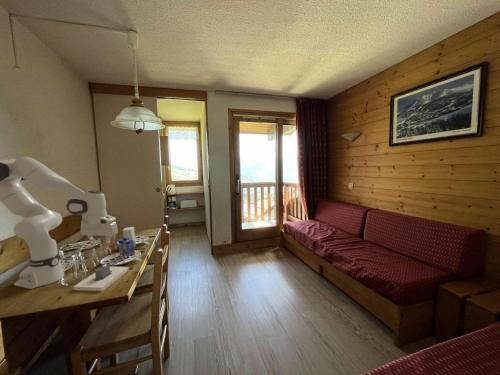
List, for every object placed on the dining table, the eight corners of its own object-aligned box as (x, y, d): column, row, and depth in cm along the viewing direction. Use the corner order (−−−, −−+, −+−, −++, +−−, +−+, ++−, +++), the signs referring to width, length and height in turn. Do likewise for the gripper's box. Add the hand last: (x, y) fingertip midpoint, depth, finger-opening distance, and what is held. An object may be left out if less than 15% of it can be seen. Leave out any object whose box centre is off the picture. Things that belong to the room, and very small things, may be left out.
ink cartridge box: (119, 256, 154) (117, 236, 152) (126, 253, 159) (124, 234, 157) (128, 258, 150) (126, 238, 148) (135, 255, 155) (133, 236, 153)
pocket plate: (73, 290, 113) (73, 286, 113) (105, 269, 135) (104, 266, 135) (101, 291, 112) (101, 287, 112) (128, 270, 134) (128, 266, 133)
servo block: (93, 284, 119) (91, 271, 118) (106, 274, 128) (105, 262, 128) (100, 284, 118) (98, 271, 117) (113, 274, 128) (111, 262, 127)
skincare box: (132, 248, 167) (131, 229, 165) (123, 249, 165) (121, 230, 163) (136, 244, 175) (134, 226, 173) (127, 245, 173) (125, 227, 172)
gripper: (76, 220, 118) (78, 244, 120) (110, 220, 116) (112, 245, 118) (85, 217, 124) (88, 239, 126) (118, 217, 122) (120, 240, 124)
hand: (100, 242), depth 122 cm, fingers open, 8 cm apart
